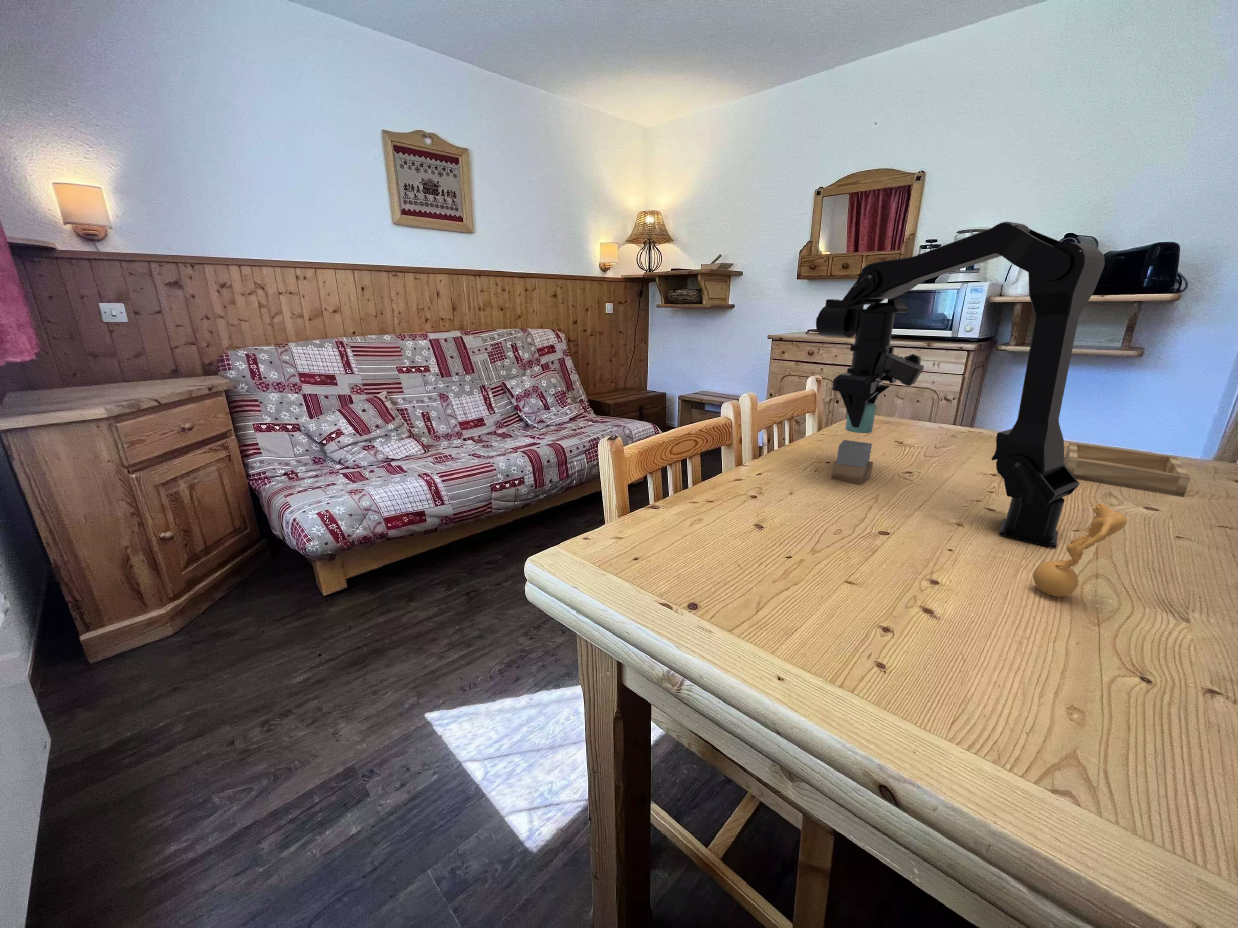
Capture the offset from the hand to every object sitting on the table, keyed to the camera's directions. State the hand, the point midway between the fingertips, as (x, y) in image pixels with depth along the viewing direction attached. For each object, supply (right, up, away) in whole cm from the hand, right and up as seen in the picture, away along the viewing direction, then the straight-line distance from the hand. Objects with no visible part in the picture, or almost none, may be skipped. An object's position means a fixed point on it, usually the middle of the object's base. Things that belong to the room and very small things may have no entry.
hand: (859, 424), depth 93 cm
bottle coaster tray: (+53, -10, +5) cm, 54 cm away
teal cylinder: (0, -1, 0) cm, 1 cm away
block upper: (0, -7, +2) cm, 7 cm away
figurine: (+6, -23, -36) cm, 43 cm away
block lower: (0, -10, +3) cm, 11 cm away
